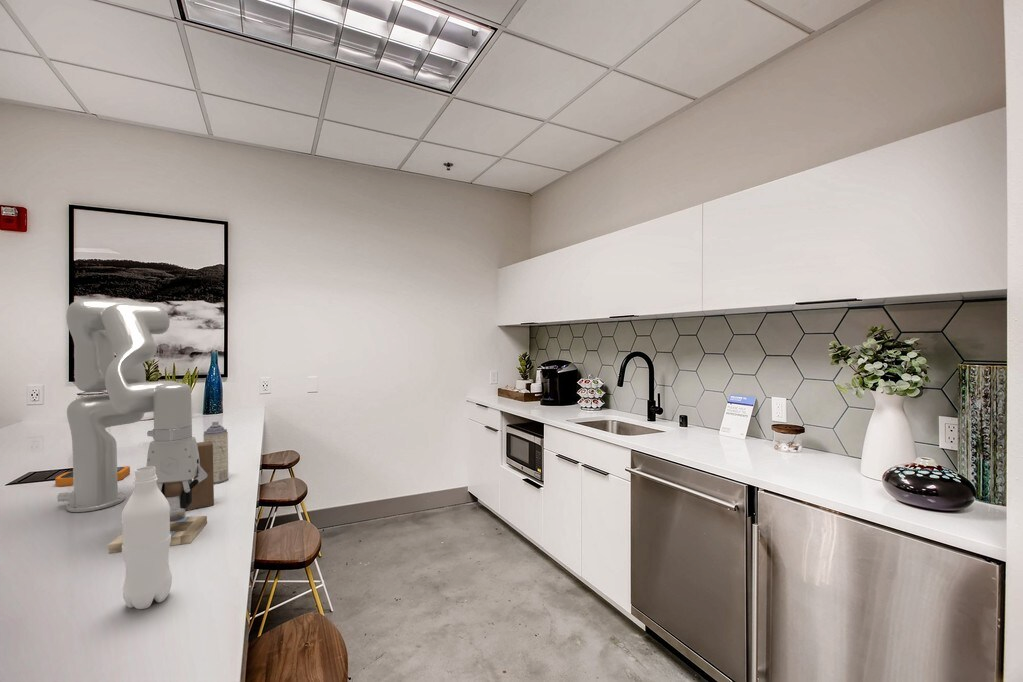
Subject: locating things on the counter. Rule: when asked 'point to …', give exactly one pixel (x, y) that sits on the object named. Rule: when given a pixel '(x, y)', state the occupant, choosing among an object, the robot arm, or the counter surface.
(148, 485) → the water bottle
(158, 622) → the counter surface
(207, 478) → the wooden block
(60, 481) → the multimeter
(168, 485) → the two-tone cylinder
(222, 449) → the aerosol can
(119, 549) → the board
